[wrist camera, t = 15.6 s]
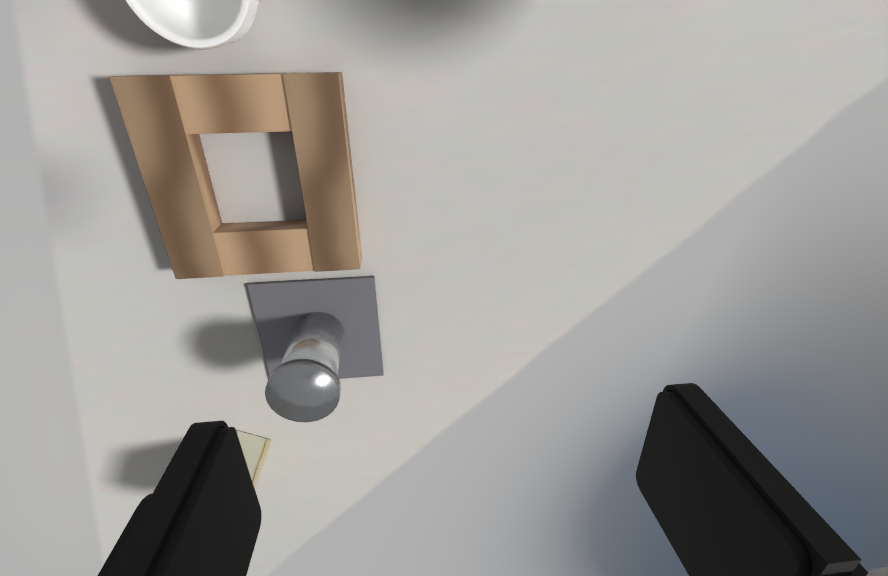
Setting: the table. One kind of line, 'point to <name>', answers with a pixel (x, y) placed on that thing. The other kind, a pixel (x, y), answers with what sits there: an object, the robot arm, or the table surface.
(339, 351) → the grey light bulb
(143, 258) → the table surface
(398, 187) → the table surface
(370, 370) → the mat
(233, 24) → the teacup
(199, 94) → the wooden square frame
